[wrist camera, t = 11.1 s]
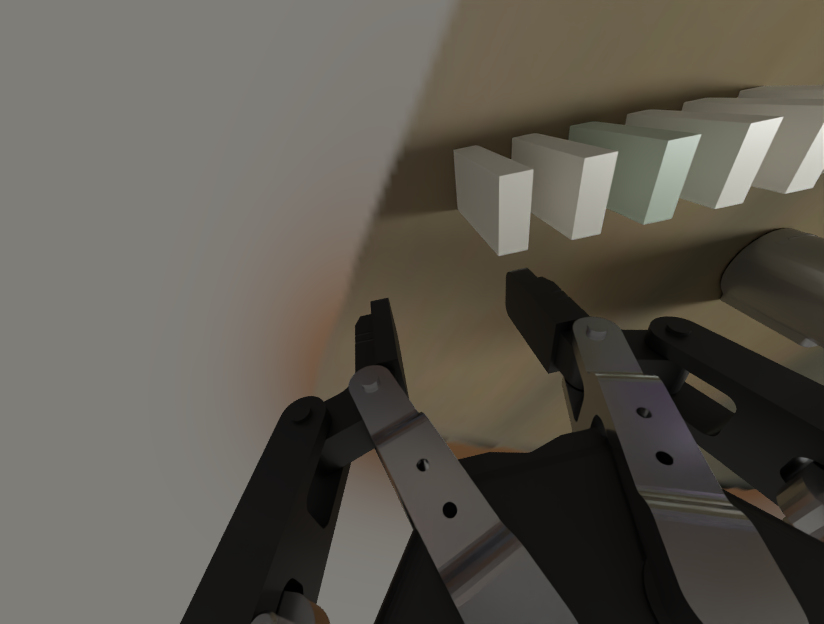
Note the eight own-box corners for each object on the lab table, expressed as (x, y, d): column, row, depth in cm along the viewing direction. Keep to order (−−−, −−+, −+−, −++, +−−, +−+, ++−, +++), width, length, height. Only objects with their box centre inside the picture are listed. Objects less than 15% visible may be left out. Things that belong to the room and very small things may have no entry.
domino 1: (476, 144, 25) (533, 169, 17) (478, 205, 28) (527, 249, 20) (453, 149, 25) (499, 176, 17) (457, 209, 28) (498, 256, 20)
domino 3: (592, 121, 26) (701, 134, 18) (582, 183, 29) (671, 218, 21) (569, 125, 26) (668, 140, 18) (562, 187, 29) (643, 224, 21)
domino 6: (762, 85, 26) (944, 82, 18) (735, 150, 29) (880, 172, 21) (740, 90, 26) (912, 89, 18) (715, 155, 29) (853, 178, 21)
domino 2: (535, 132, 26) (618, 151, 18) (531, 194, 29) (600, 233, 20) (512, 137, 26) (584, 158, 17) (510, 198, 28) (571, 240, 20)
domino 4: (650, 109, 26) (783, 116, 18) (634, 172, 29) (742, 202, 21) (627, 113, 26) (751, 123, 18) (613, 176, 29) (714, 209, 21)
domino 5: (706, 97, 26) (864, 99, 18) (685, 161, 29) (812, 187, 21) (684, 102, 26) (832, 106, 18) (664, 165, 29) (784, 193, 21)
